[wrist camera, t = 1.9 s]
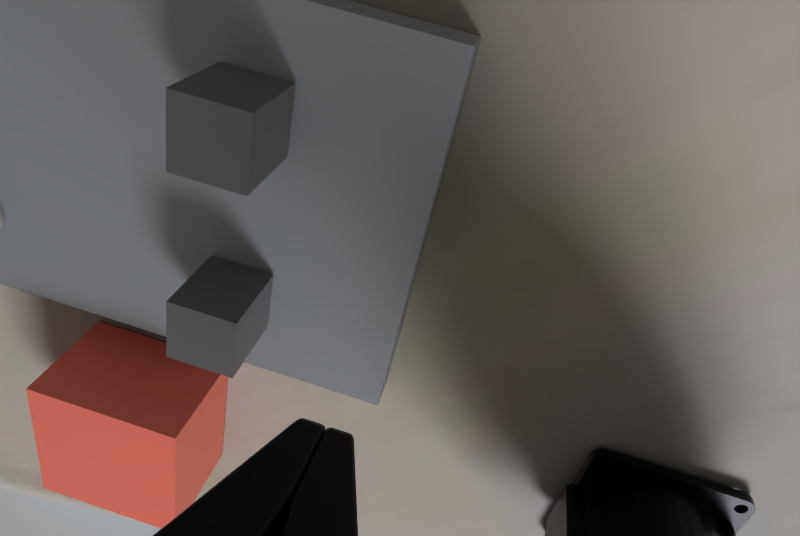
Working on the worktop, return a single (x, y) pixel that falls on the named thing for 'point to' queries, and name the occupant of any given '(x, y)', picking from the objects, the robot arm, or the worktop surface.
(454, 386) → the worktop surface
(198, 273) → the dark grey small block
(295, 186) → the panel
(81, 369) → the cap
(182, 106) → the dark gray block
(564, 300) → the worktop surface
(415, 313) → the worktop surface
